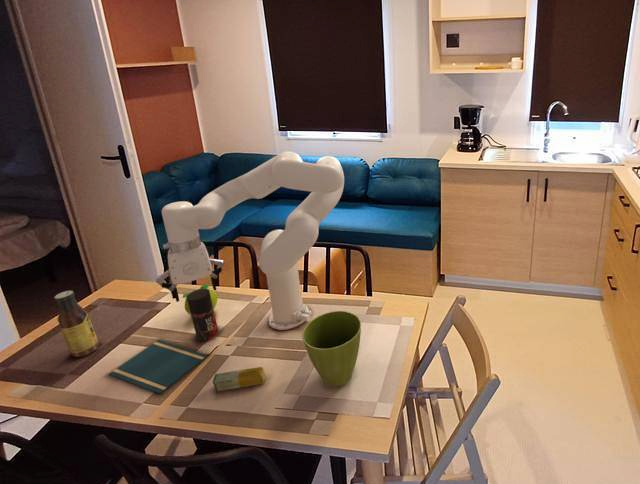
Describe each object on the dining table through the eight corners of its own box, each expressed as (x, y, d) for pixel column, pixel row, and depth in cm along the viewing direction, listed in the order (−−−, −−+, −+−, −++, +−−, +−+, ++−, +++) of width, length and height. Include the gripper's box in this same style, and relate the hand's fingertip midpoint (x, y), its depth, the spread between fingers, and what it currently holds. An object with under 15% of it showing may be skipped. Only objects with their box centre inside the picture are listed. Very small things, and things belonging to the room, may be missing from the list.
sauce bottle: (104, 346, 118) (84, 291, 112) (78, 361, 113) (56, 303, 106) (92, 340, 121) (72, 285, 114) (67, 354, 115) (44, 297, 109)
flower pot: (302, 371, 109) (295, 324, 104) (352, 348, 117) (348, 303, 112) (319, 409, 97) (312, 358, 92) (374, 381, 105) (370, 332, 100)
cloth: (207, 356, 114) (207, 354, 114) (160, 394, 102) (159, 392, 101) (159, 340, 120) (158, 339, 120) (109, 374, 108) (108, 373, 108)
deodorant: (208, 342, 120) (198, 301, 115) (192, 339, 121) (181, 299, 116) (222, 329, 125) (213, 289, 120) (207, 327, 126) (197, 287, 122)
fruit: (182, 317, 131) (175, 292, 128) (210, 302, 138) (205, 278, 135) (196, 327, 126) (190, 301, 123) (225, 311, 134) (219, 286, 131)
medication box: (215, 392, 102) (211, 382, 100) (219, 383, 105) (215, 373, 103) (263, 384, 104) (260, 373, 103) (266, 375, 107) (263, 365, 105)
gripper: (148, 257, 105) (162, 310, 110) (221, 240, 115) (230, 289, 120) (148, 246, 111) (161, 297, 116) (217, 231, 121) (226, 278, 126)
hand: (196, 293), depth 118 cm, fingers open, 9 cm apart
